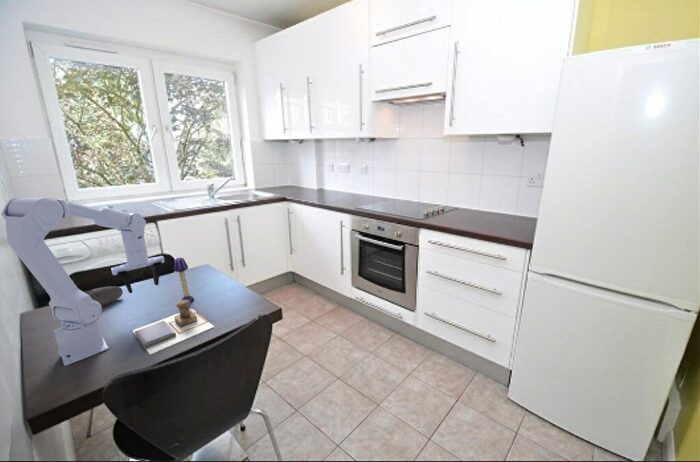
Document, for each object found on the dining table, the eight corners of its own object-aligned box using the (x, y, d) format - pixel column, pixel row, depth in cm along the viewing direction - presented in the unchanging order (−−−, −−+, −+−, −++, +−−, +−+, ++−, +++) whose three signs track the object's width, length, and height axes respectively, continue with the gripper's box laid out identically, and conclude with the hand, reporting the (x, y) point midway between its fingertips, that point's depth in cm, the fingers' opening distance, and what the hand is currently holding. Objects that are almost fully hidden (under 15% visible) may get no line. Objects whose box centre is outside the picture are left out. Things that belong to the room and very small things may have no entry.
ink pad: (145, 348, 89) (144, 344, 88) (135, 335, 95) (134, 330, 95) (176, 336, 94) (175, 332, 94) (164, 324, 101) (163, 320, 101)
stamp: (180, 327, 99) (177, 308, 97) (175, 321, 102) (171, 302, 100) (197, 321, 102) (194, 302, 100) (191, 315, 106) (188, 297, 104)
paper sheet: (150, 355, 87) (149, 353, 86) (132, 331, 98) (132, 330, 98) (214, 327, 99) (214, 326, 99) (192, 309, 110) (192, 308, 110)
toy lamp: (187, 305, 113) (180, 261, 109) (176, 303, 114) (168, 260, 110) (196, 298, 118) (189, 256, 113) (185, 297, 119) (178, 256, 114)
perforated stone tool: (121, 296, 121) (117, 279, 119) (127, 299, 118) (123, 282, 116) (72, 313, 109) (66, 295, 107) (77, 317, 106) (72, 299, 104)
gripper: (111, 258, 94) (121, 299, 98) (164, 246, 104) (171, 284, 108) (106, 253, 99) (115, 292, 103) (157, 242, 109) (164, 278, 113)
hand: (143, 288), depth 106 cm, fingers open, 7 cm apart
